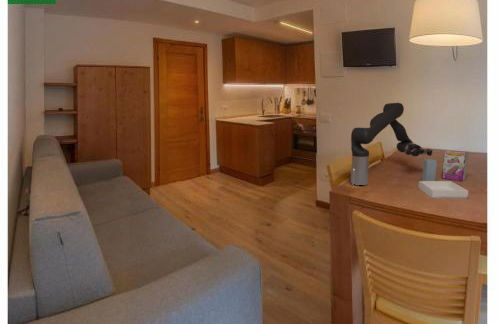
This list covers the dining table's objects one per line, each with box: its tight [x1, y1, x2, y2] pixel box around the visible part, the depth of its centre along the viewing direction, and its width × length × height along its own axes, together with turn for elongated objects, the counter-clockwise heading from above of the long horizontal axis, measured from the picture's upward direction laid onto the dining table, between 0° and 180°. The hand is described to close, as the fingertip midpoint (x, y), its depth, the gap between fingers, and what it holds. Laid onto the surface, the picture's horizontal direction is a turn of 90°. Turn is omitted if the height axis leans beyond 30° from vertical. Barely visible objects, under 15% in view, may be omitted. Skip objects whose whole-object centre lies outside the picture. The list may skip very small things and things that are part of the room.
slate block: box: [421, 158, 438, 181], centre depth 177 cm, size 5×5×14 cm
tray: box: [418, 180, 469, 200], centre depth 161 cm, size 16×18×4 cm
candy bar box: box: [441, 150, 469, 182], centre depth 184 cm, size 11×5×16 cm, turn 41°
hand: (422, 154), depth 186 cm, fingers open, 8 cm apart
